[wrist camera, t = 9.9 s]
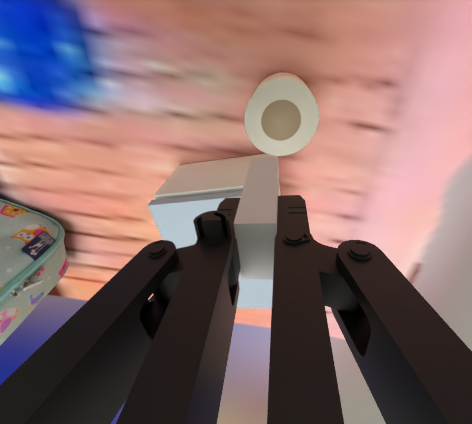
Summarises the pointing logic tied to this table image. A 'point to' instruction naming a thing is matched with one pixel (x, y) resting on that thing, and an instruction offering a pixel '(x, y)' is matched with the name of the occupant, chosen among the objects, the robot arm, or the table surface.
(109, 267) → the table surface
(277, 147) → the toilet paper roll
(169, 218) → the lid
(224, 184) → the crate
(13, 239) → the lunch box
